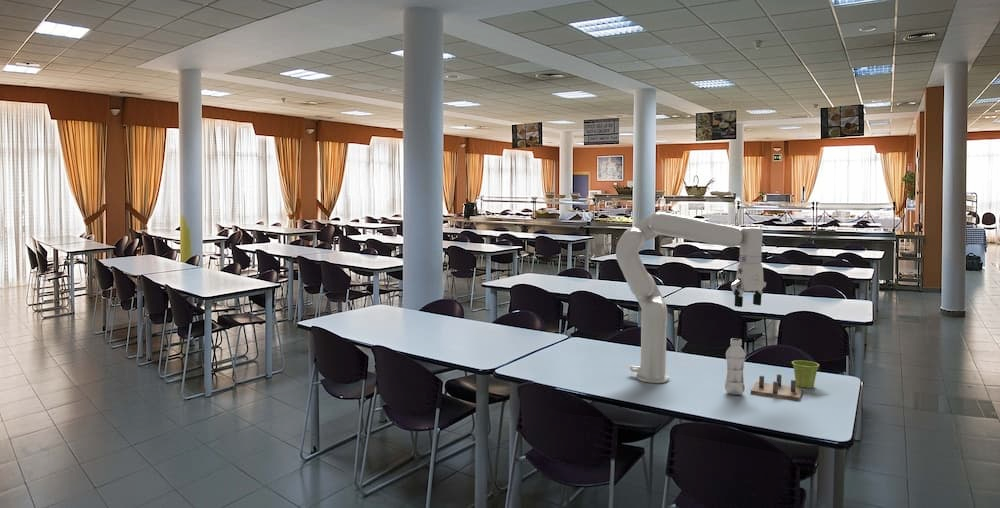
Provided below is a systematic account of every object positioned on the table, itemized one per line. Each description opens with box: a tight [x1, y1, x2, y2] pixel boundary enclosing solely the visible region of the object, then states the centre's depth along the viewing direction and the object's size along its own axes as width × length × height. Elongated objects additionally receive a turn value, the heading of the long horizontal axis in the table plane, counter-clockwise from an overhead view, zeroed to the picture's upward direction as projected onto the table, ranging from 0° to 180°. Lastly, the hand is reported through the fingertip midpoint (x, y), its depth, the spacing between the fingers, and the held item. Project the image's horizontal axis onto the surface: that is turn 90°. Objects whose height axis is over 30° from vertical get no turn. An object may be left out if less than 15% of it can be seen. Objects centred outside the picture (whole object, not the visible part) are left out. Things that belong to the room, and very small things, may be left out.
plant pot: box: [791, 360, 820, 389], centre depth 238 cm, size 9×9×9 cm
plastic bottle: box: [724, 337, 746, 396], centre depth 227 cm, size 6×7×20 cm
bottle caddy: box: [750, 373, 804, 402], centre depth 230 cm, size 16×13×5 cm
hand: (747, 305), depth 236 cm, fingers open, 9 cm apart
